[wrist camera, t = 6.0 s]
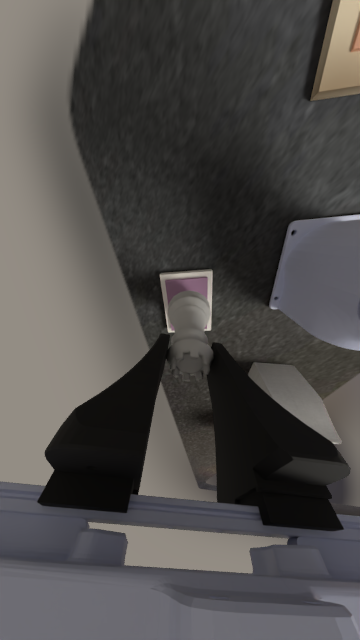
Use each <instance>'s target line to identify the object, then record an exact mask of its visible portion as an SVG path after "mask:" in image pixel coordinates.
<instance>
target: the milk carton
mask: <svg viewBox="0 0 360 640" xmlns="http://www.w3.org/2000/svg"><path fill="white" fill-rule="evenodd" d="M248 376H249V377H250V378H251V379H252V380H253V381H254V382H255V383H256V384H257V385H258V386H259V387H260V388H261V389H262V390H264V391H265V392H266V393H267V394H268V395H269V396H270V397H271V398H273V399H274V400H275V401H276V402H277V403H279V404H280V405H281V406H282V407H284V408H285V409H286V410H287V411H289V412H290V413H291V414H293V415H294V416H295V417H297V418H298V419H299V420H301V421H302V422H303V423H305V424H306V425H308V426H309V427H311V428H312V429H314V430H315V431H317V432H318V433H319V434H321V435H322V436H324V437H325V438H327V439H328V440H330V441H331V442H332V443H333V444H340V443H342V441H341V439H340V438H339V436H338V434H337V432H336V430H335V428H334V426H333V424H332V422H331V420H330V417H329V415H328V412H327V410H326V408H325V405H324V403H323V401H322V399H321V398H320V396H319V395H318V394H317V393H316V392H315V390H314V389H313V388H312V387H311V386H310V384H309V383H308V382H307V381H306V380H305V379H304V377H303V376H302V375H301V374H300V373H299V371H298V370H297V369H296V368H295V367H294V365H284V364H271V363H257V362H253V364H252V367H251V369H250V371H249V373H248Z"/></svg>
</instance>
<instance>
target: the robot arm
mask: <svg viewBox="0 0 360 640" xmlns="http://www.w3.org/2000/svg"><path fill="white" fill-rule="evenodd" d="M293 230H294V234H293V235H291V232H292V231H293ZM275 297H277V298H276V299H274V298H275ZM269 307H270V308H271V309H279V310H280V311H282V312H283V313H284V314H286V315H287V316H288V317H289V318H291V319H292V320H293V321H295V322H296V323H297V324H298V325H300V326H301V327H302V328H304V329H305V330H306V331H307V332H309V333H310V334H312V335H313V336H315V337H317V338H319V339H321V340H323V341H325V342H328V343H330V344H333V345H336V346H339V347H343V348H347V349H352V350H359V351H360V214H359V215H348V216H338V217H328V218H318V219H308V220H298V221H293V222H291V223H290V224H289V226H288V230H287V234H286V238H285V242H284V246H283V250H282V254H281V258H280V262H279V266H278V270H277V274H276V279H275V283H274V287H273V291H272V295H271V299H270V303H269ZM169 338H170V335H167V334H160V336H159V338H158V339H157V341H156V342H155V344H154V345H153V346H152V348H151V349H150V350H149V351H148V353H147V354H146V355H145V356H144V357H143V358H142V360H140V361H139V362H138V363H137V364H136V365H135V366H134V367H133V368H132V369H131V370H130V371H129V372H127V373H126V374H125V375H124V376H123V377H121V378H120V379H119V380H118V381H116V382H115V383H113V384H112V385H111V386H109V387H108V388H107V389H105V390H104V391H102V392H101V393H99V394H98V395H96V396H95V397H93V398H91V399H90V400H88V401H87V402H85V403H83V404H82V405H80V406H78V407H77V408H75V409H74V411H73V412H72V413H71V414H70V416H69V417H68V418H67V419H66V421H65V422H64V423H63V424H62V426H61V427H60V428H59V430H58V432H57V433H56V435H55V436H54V438H53V439H52V441H51V442H50V444H49V445H48V447H47V448H46V450H45V457H46V459H47V460H48V462H49V463H50V464H51V466H52V467H53V468H54V472H53V474H52V476H51V477H50V479H49V481H48V483H47V485H46V486H41V485H30V484H19V483H9V482H0V640H360V516H351V515H341V514H336V513H335V511H334V509H333V507H332V506H331V504H330V502H329V500H328V499H331V498H332V495H331V494H330V492H329V490H328V488H327V486H326V485H328V484H331V483H333V482H336V481H338V480H341V479H343V478H345V477H347V476H348V475H349V474H350V467H349V466H348V464H347V463H346V461H345V460H344V458H343V457H342V456H341V454H340V453H339V451H338V450H337V448H336V447H335V446H334V444H333V443H332V442H331V441H330V440H328V439H327V438H325V437H324V436H322V435H321V434H319V433H318V432H317V431H315V430H314V429H312V428H311V427H309V426H308V425H306V424H305V423H303V422H302V421H301V420H299V419H298V418H297V417H295V416H294V415H293V414H291V413H290V412H289V411H287V410H286V409H285V408H284V407H282V406H281V405H280V404H279V403H277V402H276V401H275V400H274V399H273V398H271V397H270V396H269V395H268V394H267V393H266V392H265V391H264V390H262V389H261V388H260V387H259V386H258V385H257V384H256V383H255V382H254V381H253V380H252V379H251V378H250V377H249V376H248V375H247V374H246V373H245V371H244V370H243V369H242V368H241V367H240V366H239V365H238V364H237V362H236V361H235V360H234V359H233V358H232V356H231V355H230V354H229V353H228V351H227V350H226V349H225V348H224V346H223V345H222V344H220V343H215V342H213V344H212V347H211V349H212V351H213V354H214V359H213V362H212V364H211V365H210V372H209V374H208V375H207V374H206V375H207V380H208V386H209V391H210V397H211V402H212V409H213V419H214V431H215V446H216V470H217V502H218V503H217V502H206V501H195V500H186V499H175V498H164V497H155V496H144V495H138V492H139V487H140V482H141V477H142V471H143V466H144V460H145V454H146V449H147V444H148V438H149V433H150V427H151V422H152V416H153V411H154V405H155V400H156V396H157V392H158V389H159V385H160V381H161V377H162V374H163V370H164V366H165V360H166V354H167V350H168V344H169ZM88 522H97V523H109V524H120V525H132V526H144V527H156V528H169V529H180V530H193V531H205V532H217V533H229V534H242V535H254V536H265V537H277V538H289V539H288V542H287V545H271V546H268V547H260V548H250V556H251V561H252V565H253V573H252V574H248V573H233V572H218V571H203V570H187V569H172V568H157V567H139V566H126V565H124V561H125V554H126V549H127V544H128V541H127V539H126V535H125V533H119V532H113V531H106V530H100V529H89V524H88Z"/></svg>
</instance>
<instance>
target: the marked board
mask: <svg viewBox="0 0 360 640" xmlns="http://www.w3.org/2000/svg"><path fill="white" fill-rule="evenodd" d="M354 94H360V0H333V2H332V6H331V11H330V15H329V20H328V24H327V29H326V33H325V37H324V42H323V46H322V51H321V55H320V59H319V64H318V68H317V73H316V77H315V82H314V86H313V90H312V95H311V99H310V101H314V100H321V99H328V98H334V97H341V96H347V95H354Z"/></svg>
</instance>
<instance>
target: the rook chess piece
mask: <svg viewBox="0 0 360 640" xmlns="http://www.w3.org/2000/svg"><path fill="white" fill-rule="evenodd" d="M210 315H211V313H210V305H209V302H208V300H207V299H206V297H205V296H203V295H202V294H200V293H199V292H195V291H190V290H189V291H183V292H180V293H178V294H177V295H175V296H174V297H173V298H172V300H171V301H170V303H169V307H168V317H169V320H170V323H171V324H172V325H173V327H174V330H175V334H174V335H173V337H172V341H171V343H172V345H171V347H170V348H169V349H168V350H167V354H166V359H167V361H168V363H169V365H170V369H172V374H173V375H174V376H175V377H176V378H177V377H179V373H180V374H183V381H190V376H191V375H195V378H196V380H197V381H198V380H201V379H203V372H204V374H207V375H208V374H209V372H210V365H211V364H212V362H213V359H214V354H213V351H212V349H211V348H210V347H209V345H207V344H208V339H207V336H206V335H205V334H204V328H205V327H206V325H207V324H208V321H209V318H210Z"/></svg>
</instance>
